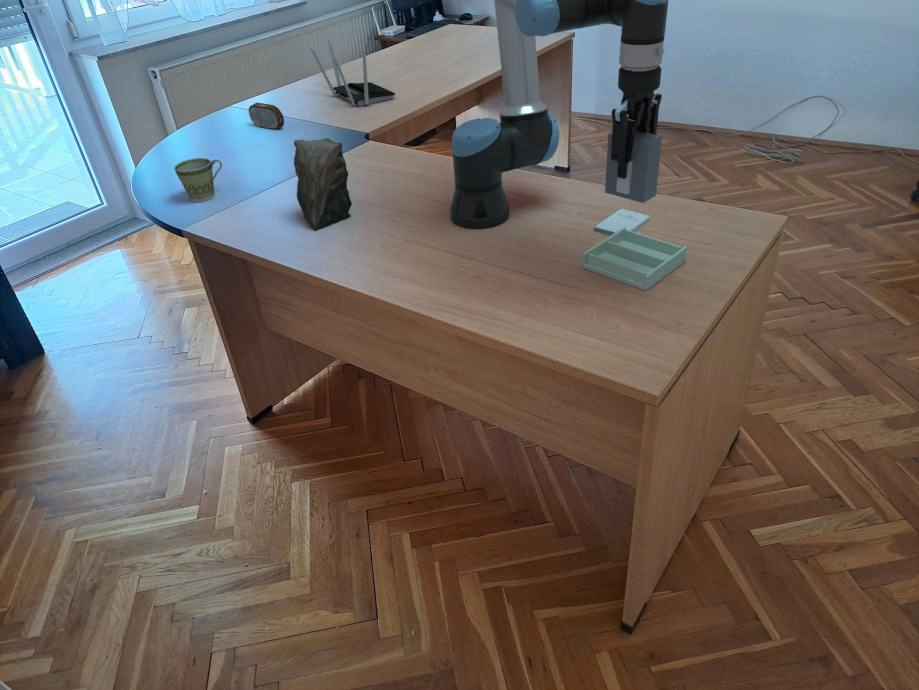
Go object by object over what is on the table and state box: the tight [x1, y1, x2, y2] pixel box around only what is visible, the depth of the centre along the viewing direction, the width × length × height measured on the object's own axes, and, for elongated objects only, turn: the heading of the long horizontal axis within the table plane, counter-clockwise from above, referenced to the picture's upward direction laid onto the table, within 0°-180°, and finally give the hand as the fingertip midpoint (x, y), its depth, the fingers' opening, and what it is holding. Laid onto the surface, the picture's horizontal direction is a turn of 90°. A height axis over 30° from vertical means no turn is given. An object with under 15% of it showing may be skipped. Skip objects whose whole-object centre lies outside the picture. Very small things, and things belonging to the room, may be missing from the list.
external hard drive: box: [593, 208, 651, 236], centre depth 166 cm, size 2×8×12 cm
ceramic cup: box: [173, 157, 223, 203], centre depth 195 cm, size 13×10×10 cm
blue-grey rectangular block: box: [604, 131, 663, 204], centre depth 134 cm, size 9×4×12 cm, turn 46°
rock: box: [293, 137, 353, 232], centre depth 175 cm, size 13×13×20 cm
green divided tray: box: [581, 227, 688, 291], centre depth 149 cm, size 16×16×3 cm
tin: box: [248, 102, 285, 131], centre depth 244 cm, size 15×3×8 cm, turn 58°
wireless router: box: [310, 38, 396, 107], centre depth 263 cm, size 34×23×20 cm
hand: (630, 187), depth 137 cm, fingers closed on blue-grey rectangular block, 4 cm apart
